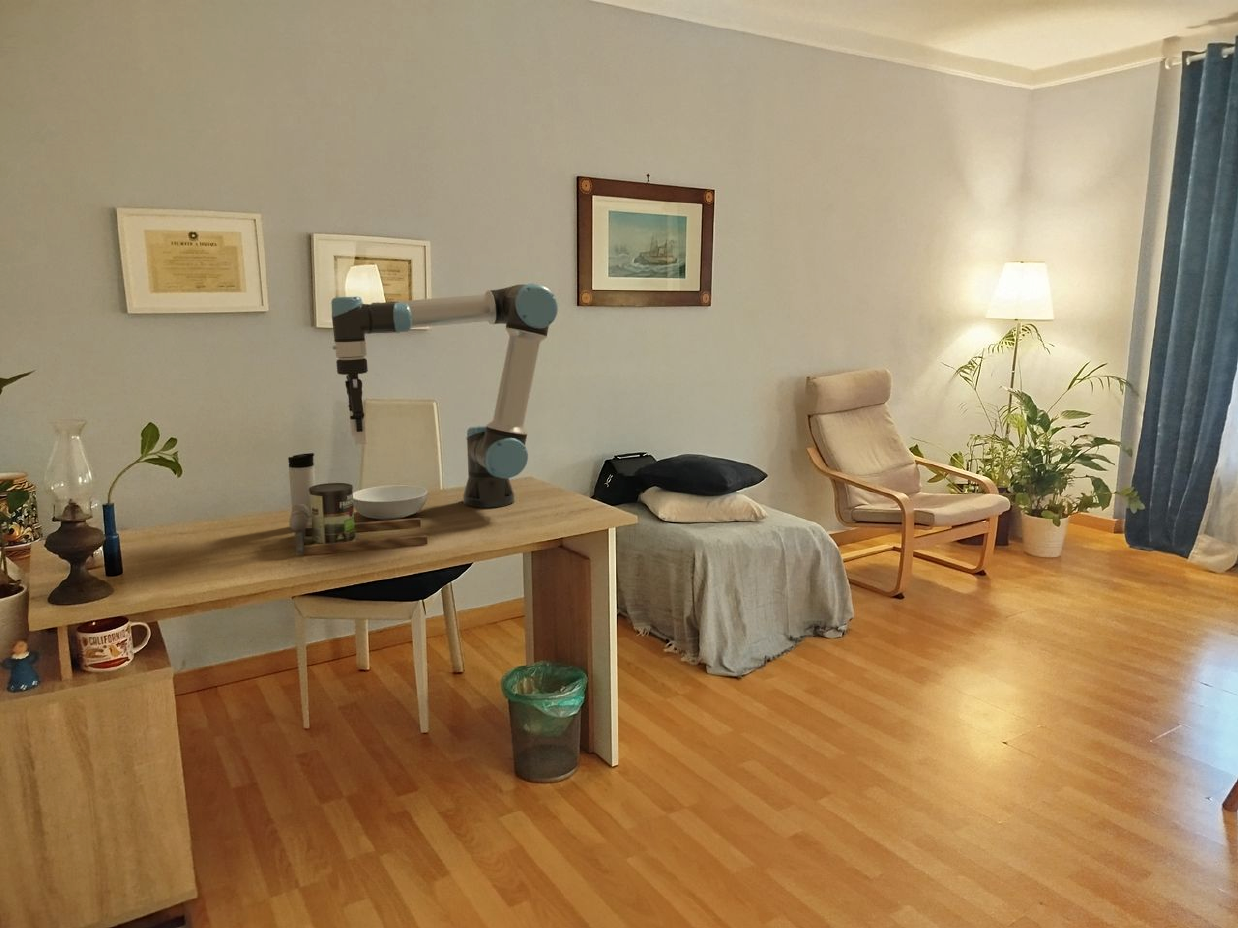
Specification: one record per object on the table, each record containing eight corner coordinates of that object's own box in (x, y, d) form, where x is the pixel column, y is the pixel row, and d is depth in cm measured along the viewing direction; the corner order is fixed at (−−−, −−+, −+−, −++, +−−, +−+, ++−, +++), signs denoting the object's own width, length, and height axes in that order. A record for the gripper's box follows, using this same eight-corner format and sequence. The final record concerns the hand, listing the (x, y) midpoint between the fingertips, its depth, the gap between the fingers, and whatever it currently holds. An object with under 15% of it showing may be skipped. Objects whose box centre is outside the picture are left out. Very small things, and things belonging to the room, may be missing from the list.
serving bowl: (426, 505, 251) (425, 482, 250) (430, 523, 231) (429, 498, 230) (352, 510, 246) (351, 486, 244) (350, 528, 226) (349, 503, 224)
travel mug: (311, 530, 223) (305, 455, 219) (288, 529, 225) (282, 454, 221) (324, 524, 229) (319, 451, 226) (301, 523, 231) (296, 450, 227)
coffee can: (363, 537, 218) (360, 483, 215) (343, 548, 208) (339, 492, 205) (325, 535, 219) (322, 481, 217) (304, 546, 209) (300, 490, 207)
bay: (420, 525, 229) (418, 492, 227) (427, 544, 211) (425, 509, 209) (294, 535, 219) (291, 501, 217) (290, 556, 201) (287, 519, 200)
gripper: (334, 355, 228) (341, 433, 232) (338, 362, 205) (346, 449, 209) (363, 354, 230) (369, 431, 235) (370, 360, 208) (377, 446, 212)
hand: (358, 440), depth 222 cm, fingers open, 13 cm apart
